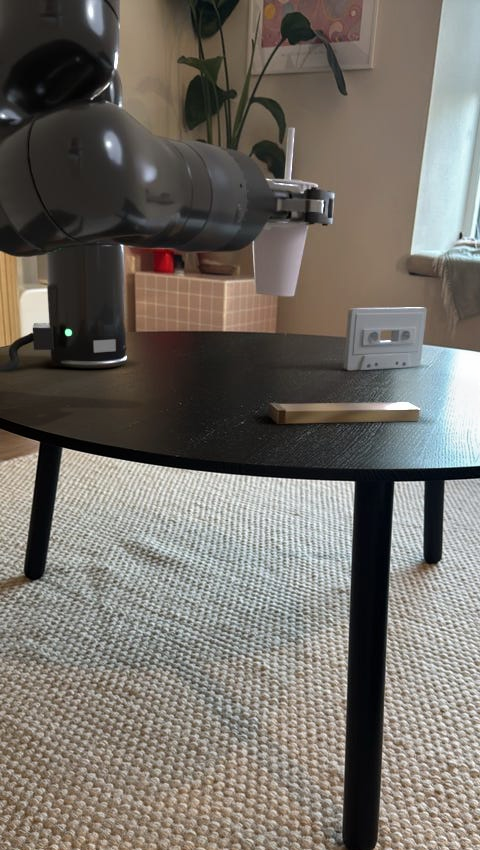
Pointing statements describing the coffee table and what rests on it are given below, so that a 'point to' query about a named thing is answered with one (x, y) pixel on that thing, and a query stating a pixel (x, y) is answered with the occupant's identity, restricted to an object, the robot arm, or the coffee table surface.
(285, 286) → the smoothie
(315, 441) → the coffee table surface
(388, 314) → the cassette
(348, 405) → the batten
